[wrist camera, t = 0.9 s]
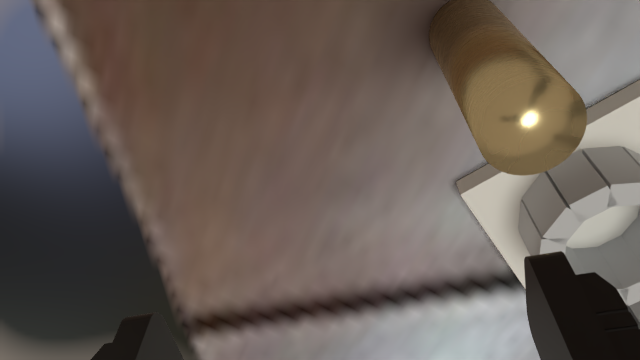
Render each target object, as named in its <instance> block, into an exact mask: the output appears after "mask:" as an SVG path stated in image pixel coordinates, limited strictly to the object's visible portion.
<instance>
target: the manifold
mask: <svg viewBox="0 0 640 360" xmlns="http://www.w3.org/2000/svg"><path fill="white" fill-rule="evenodd" d="M586 112H587V125H586V130H585V133H584V136H583V138H582V140H581V142H580V144H579V145H578V147H577V148H576V150H575V151H574V152H573V153H572V154H571V155H570V156H569V157H568V158H567V159H566V160H565V161H563V162H562V163H561V164H559V165H557V166H556V167H554V168H552V169H550V170H548V171H545V172H542V173H538V174H534V175H525V176H519V175H512V174H507V173H504V172H502V171H500V170H498V169H496V168H494V167H493V166H492V165H490V164H487V165H485V166H483V167H482V168H480V169H478V170H476V171H474V172H473V173H471V174H469V175H467V176H465V177H464V178H462V179H460V180H458V181H456V184H457V187H458V190H459V192H460V195H461V196H462V198H463V199H464V201H465V202H466V204H467V205H468V206H469V208H470V209H471V211H472V212H473V214H474V215H475V217H476V218H477V220H478V221H479V222H480V224H481V225H482V227H483V228H484V230H485V231H486V233H487V234H488V236H489V237H490V238H491V240H492V241H493V243H494V244H495V246H496V247H497V249H498V250H499V251H500V253H501V254H502V256H503V257H504V259H505V260H506V262H507V263H508V265H509V266H510V267H511V269H512V270H513V272H514V273H515V275H516V276H517V278H518V279H519V281H520V282H521V283H522V285H523V286H524V288H525V289H526V287H525V270H524V259H525V257H526V256H533V255H539V254H546V253H552V252H559V251H562V252H563V253H564V254H565V256H566V257H567V259H568V261H569V263H570V265H571V267H572V269H573V271H574V273H575V275H578V274H584V273H591V272H595V273H597V274H598V275H599V276H601V277H602V278H603V279H605V280H606V281H607V282H609V283H610V284H611V285H613V286H614V287H615V288H616V289H617V290H618V292H619V294H620V295H621V297H622V299H623V301H624V302H625V304H626V306H627V307H628V311H629V312H631V314H632V316H633V317H634V319H635V321H636V322H637V324H638V328H639V329H640V80H638V81H637V82H635V83H633V84H631V85H629V86H628V87H626V88H624V89H622V90H620V91H619V92H617V93H615V94H613V95H611V96H610V97H608V98H606V99H604V100H602V101H601V102H599V103H597V104H595V105H593V106H592V107H590V108H588V109H586Z"/></svg>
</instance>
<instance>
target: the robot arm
mask: <svg viewBox="0 0 640 360" xmlns="http://www.w3.org/2000/svg"><path fill="white" fill-rule="evenodd" d="M524 270H525V287H526V304H527V315H528V321H529V326H530V330H531V333H532V337H533V340H534V343H535V345H536V348H537V350H538V353H539V356H540V358H541V360H640V329H639V328H638V324H637V322H636V321H635V319H634V317H633V316H632V314H631V312H629V311H628V307H627V306H626V304H625V302H624V301H623V299H622V297H621V295H620V294H619V292H618V290H617V289H616V288H615V287H614V286H613V285H611V284H610V283H609V282H607V281H606V280H605V279H603V278H602V277H601V276H599V275H598V274H597V273H595V272H591V273H584V274H578V275H575V273H574V271H573V269H572V267H571V265H570V263H569V261H568V259H567V257H566V256H565V254H564V253H563V252H562V251H559V252H552V253H546V254H539V255H533V256H526V257H525V259H524ZM91 360H184V359H183V357H182V355H181V353H180V351H179V349H178V346H177V344H176V342H175V340H174V338H173V336H172V334H171V332H170V330H169V328H168V326H167V324H166V322H165V320H164V318H163V316H162V315H161V314H160V313H150V314H144V315H137V316H131V317H126V318H124V319H123V320H122V322H121V324H120V326H119V329H118V331H117V334H116V336H115V338H114V340H113V343H107V344H104V345H103V346H102V347H101V349H100V350H99V351H98V352H97V353H96V354H95V355H94V357H93V358H92V359H91Z"/></svg>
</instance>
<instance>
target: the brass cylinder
mask: <svg viewBox="0 0 640 360" xmlns="http://www.w3.org/2000/svg"><path fill="white" fill-rule="evenodd" d="M429 41H430V46H431V49H432V51H433V53H434V55H435V57H436V59H437V61H438V63H439V66H440V68H441V70H442V72H443V74H444V76H445V78H446V80H447V82H448V84H449V87H450V89H451V91H452V93H453V95H454V97H455V99H456V101H457V103H458V105H459V107H460V110H461V112H462V114H463V116H464V118H465V120H466V122H467V124H468V126H469V128H470V131H471V133H472V135H473V137H474V139H475V141H476V143H477V145H478V147H479V149H480V151H481V153H482V155H483V157H484V158H485V159H486V161H487V162H488V163H489V164H490V165H492V166H493V167H494V168H496V169H498V170H500V171H502V172H504V173H507V174H512V175H519V176H525V175H534V174H538V173H542V172H545V171H548V170H550V169H552V168H554V167H556V166H557V165H559V164H561V163H562V162H563V161H565V160H566V159H567V158H568V157H569V156H570V155H571V154H572V153H573V152H574V151H575V150H576V148H577V147H578V145H579V144H580V142H581V140H582V138H583V136H584V133H585V130H586V125H587V112H586V107H585V104H584V102H583V100H582V98H581V97H580V95H579V94H578V93H577V92H576V91H575V89H574V88H573V87H572V86H571V85H570V84H569V83H568V82H567V81H566V80H565V79H564V78H563V77H562V76H561V75H560V74H559V73H558V71H557V70H556V69H555V68H554V67H553V66H552V65H551V64H550V63H549V62H548V61H547V60H546V59H545V58H544V57H543V56H542V55H541V54H540V52H539V51H538V50H537V49H536V48H535V47H534V46H533V45H532V44H531V43H530V42H529V41H528V40H527V39H526V38H525V37H524V36H523V35H522V33H521V32H520V31H519V30H518V29H517V28H516V27H515V26H514V25H513V24H512V23H511V22H510V21H509V20H508V19H507V18H506V17H505V16H504V14H503V13H502V12H501V11H500V10H499V9H498V8H497V7H496V6H495V5H494V4H493V3H492V2H490V1H489V0H451V1H449V2H448V3H446V4H445V5H444V6H443V7H442V8H441V9H440V10H439V11H438V12H437V14H436V15H435V17H434V19H433V21H432V23H431V26H430V31H429Z"/></svg>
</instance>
